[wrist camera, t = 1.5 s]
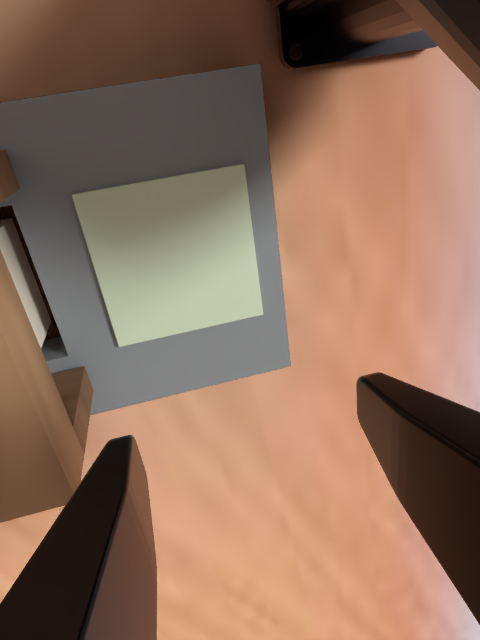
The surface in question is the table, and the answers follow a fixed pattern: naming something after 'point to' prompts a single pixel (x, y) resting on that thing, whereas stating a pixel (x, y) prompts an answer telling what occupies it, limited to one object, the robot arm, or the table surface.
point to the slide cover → (35, 406)
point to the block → (24, 279)
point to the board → (152, 231)
